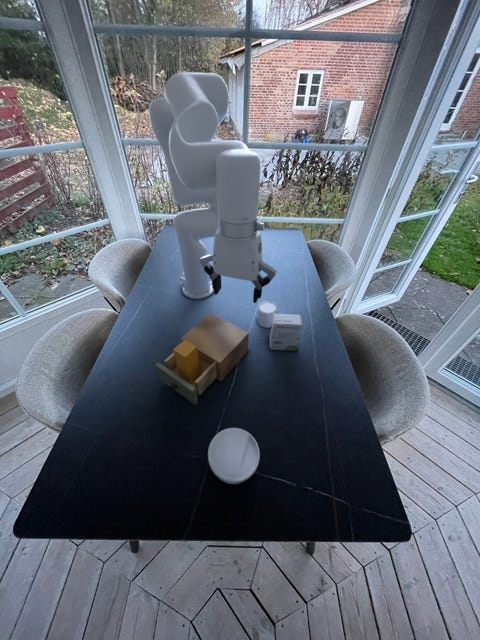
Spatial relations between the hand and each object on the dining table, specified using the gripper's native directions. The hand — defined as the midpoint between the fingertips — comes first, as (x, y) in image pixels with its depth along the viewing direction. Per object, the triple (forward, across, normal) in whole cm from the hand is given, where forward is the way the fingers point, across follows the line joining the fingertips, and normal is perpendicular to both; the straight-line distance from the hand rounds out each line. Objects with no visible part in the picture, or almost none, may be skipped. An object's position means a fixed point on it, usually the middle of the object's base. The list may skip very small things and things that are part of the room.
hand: (236, 295), depth 63 cm
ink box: (+26, -12, -12) cm, 31 cm away
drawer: (+25, +10, +10) cm, 29 cm away
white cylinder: (+26, -4, -21) cm, 34 cm away
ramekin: (+27, -8, +27) cm, 39 cm away
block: (+24, +10, +10) cm, 28 cm away
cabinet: (+26, +7, -1) cm, 27 cm away
